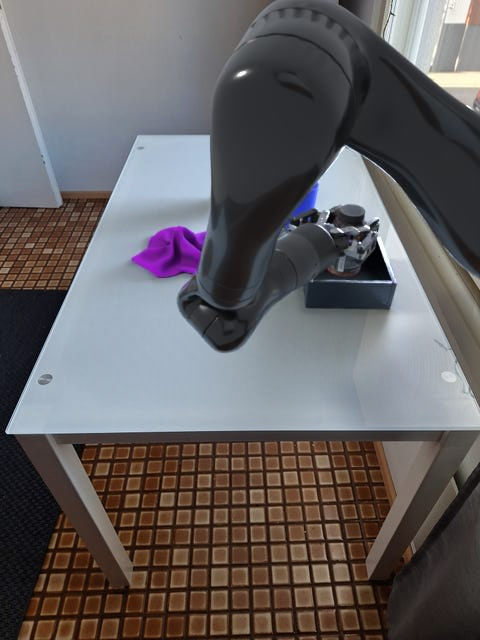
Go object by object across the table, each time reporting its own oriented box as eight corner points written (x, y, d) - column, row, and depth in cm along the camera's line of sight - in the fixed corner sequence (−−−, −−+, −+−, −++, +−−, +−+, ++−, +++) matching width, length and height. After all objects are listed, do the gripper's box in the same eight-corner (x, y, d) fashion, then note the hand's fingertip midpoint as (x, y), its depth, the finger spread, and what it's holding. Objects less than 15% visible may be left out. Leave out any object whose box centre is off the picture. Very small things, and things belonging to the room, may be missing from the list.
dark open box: (374, 261, 99) (380, 236, 95) (390, 309, 87) (397, 283, 83) (299, 260, 99) (302, 235, 95) (305, 308, 88) (308, 282, 84)
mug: (268, 236, 106) (270, 195, 100) (285, 212, 115) (288, 173, 108) (304, 244, 104) (308, 202, 97) (318, 218, 112) (323, 178, 106)
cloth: (123, 274, 96) (118, 248, 91) (149, 228, 109) (146, 203, 105) (232, 284, 93) (232, 257, 89) (245, 235, 107) (245, 210, 103)
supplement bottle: (321, 260, 84) (329, 201, 77) (353, 257, 85) (365, 199, 77) (330, 279, 80) (339, 219, 72) (364, 277, 80) (377, 217, 73)
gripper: (343, 255, 62) (404, 210, 72) (259, 218, 69) (325, 182, 79) (335, 299, 67) (393, 252, 76) (258, 261, 74) (320, 222, 84)
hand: (358, 216), depth 78 cm, fingers closed on supplement bottle, 6 cm apart
